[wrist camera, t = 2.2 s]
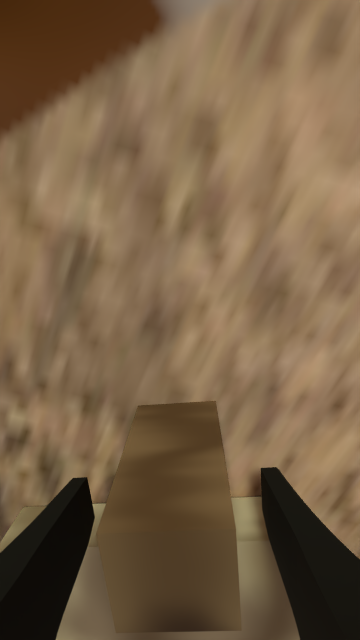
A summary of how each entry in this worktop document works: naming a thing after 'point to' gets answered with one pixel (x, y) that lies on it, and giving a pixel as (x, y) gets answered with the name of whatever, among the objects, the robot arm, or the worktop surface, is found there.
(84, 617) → the maple board
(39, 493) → the worktop surface
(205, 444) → the walnut block
